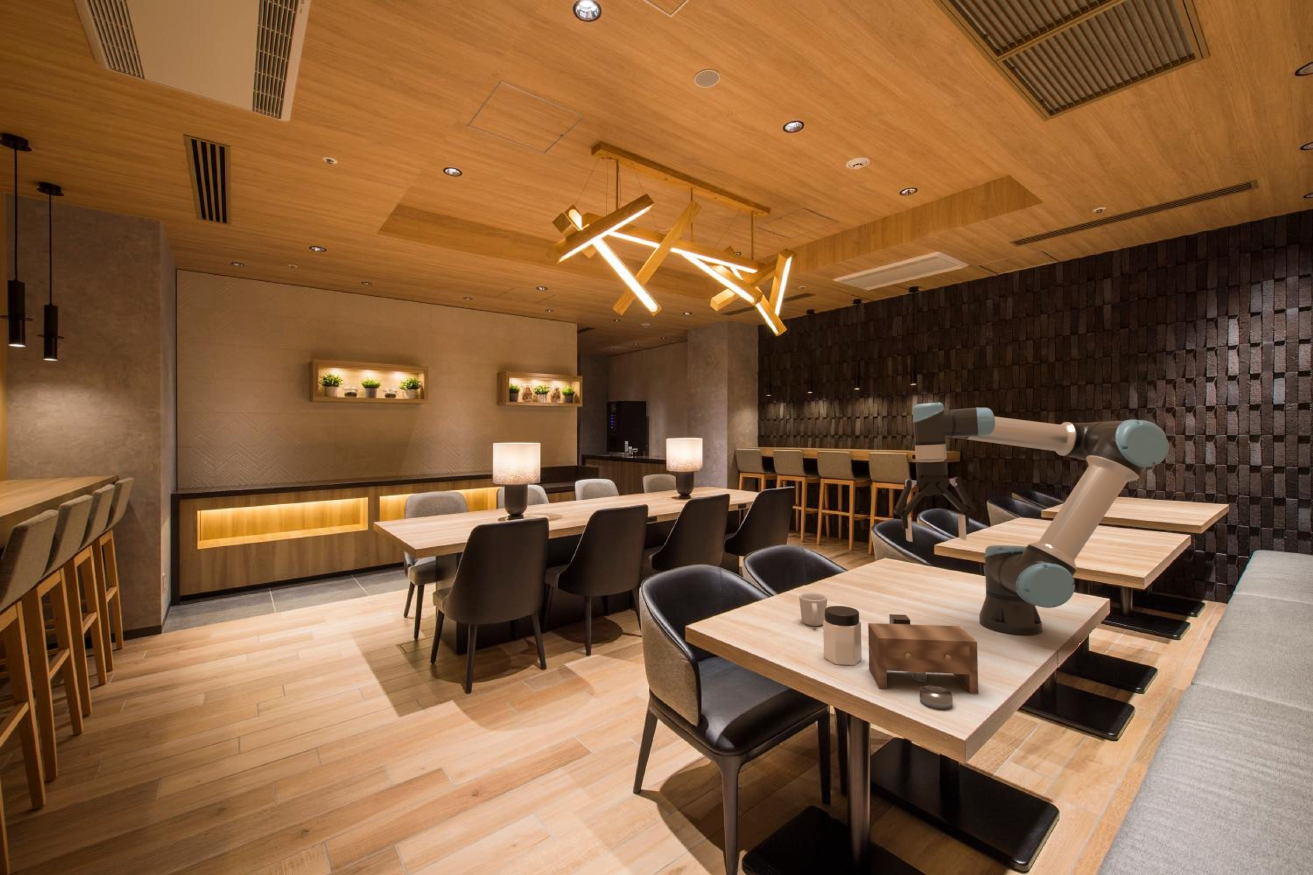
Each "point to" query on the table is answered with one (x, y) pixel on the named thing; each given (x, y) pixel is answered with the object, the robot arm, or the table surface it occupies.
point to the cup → (813, 608)
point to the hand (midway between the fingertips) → (936, 539)
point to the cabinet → (922, 652)
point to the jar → (842, 635)
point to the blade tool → (905, 620)
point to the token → (936, 697)
